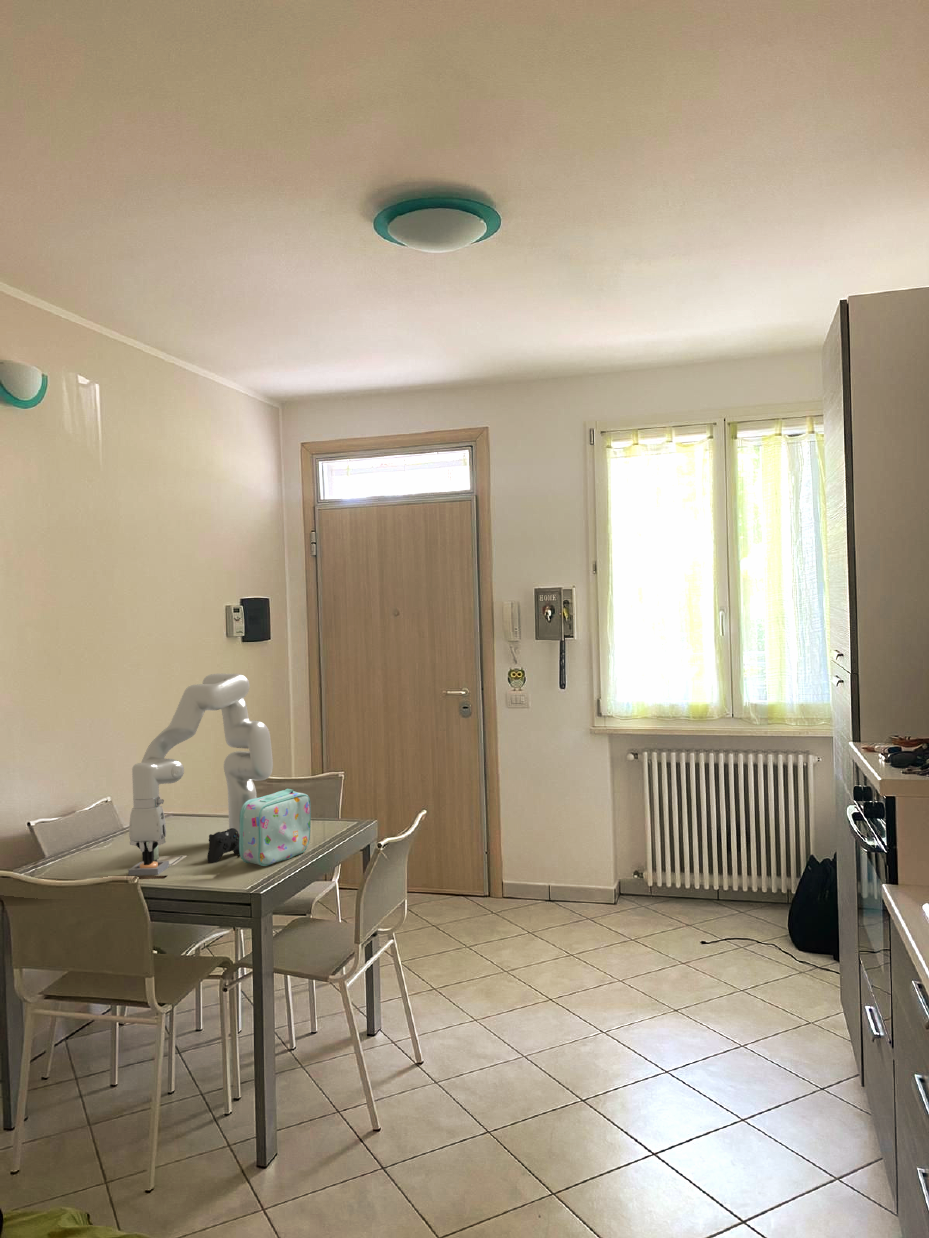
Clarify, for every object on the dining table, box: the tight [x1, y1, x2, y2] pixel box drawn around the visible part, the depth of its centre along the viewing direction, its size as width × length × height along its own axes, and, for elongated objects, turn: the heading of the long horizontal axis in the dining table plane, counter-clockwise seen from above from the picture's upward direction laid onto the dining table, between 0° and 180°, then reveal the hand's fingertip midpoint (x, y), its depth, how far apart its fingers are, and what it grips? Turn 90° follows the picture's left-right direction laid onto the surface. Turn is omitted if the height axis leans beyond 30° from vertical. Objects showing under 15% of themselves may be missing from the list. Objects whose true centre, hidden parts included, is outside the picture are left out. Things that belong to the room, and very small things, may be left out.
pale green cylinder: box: [147, 842, 160, 861], centre depth 295 cm, size 4×4×9 cm
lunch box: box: [239, 788, 312, 867], centre depth 299 cm, size 27×10×21 cm, turn 152°
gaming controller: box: [206, 828, 240, 864], centre depth 298 cm, size 14×6×10 cm, turn 148°
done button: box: [140, 861, 158, 868], centre depth 285 cm, size 5×5×2 cm
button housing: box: [127, 861, 170, 876], centre depth 285 cm, size 9×9×2 cm
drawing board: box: [137, 854, 188, 880], centre depth 292 cm, size 13×24×1 cm, turn 177°
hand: (148, 863), depth 285 cm, fingers closed
